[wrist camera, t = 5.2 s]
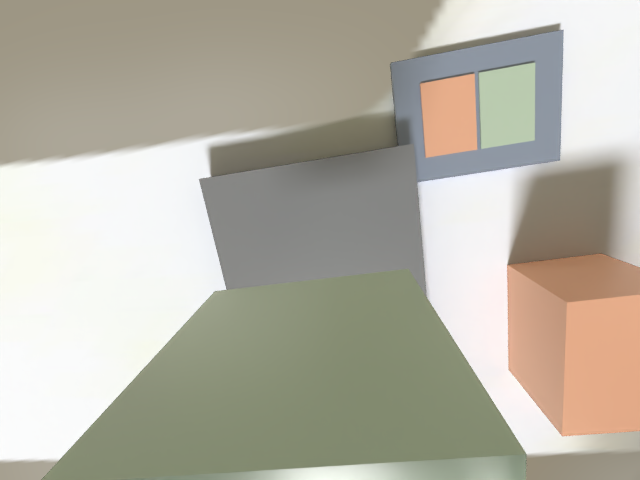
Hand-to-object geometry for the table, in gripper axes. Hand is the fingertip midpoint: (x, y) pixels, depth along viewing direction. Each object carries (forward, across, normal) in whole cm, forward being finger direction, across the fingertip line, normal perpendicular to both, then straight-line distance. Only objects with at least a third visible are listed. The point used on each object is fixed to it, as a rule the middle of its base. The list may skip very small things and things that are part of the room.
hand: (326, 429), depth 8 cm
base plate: (+11, 0, 0) cm, 11 cm away
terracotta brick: (+11, -12, +4) cm, 17 cm away
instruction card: (+11, -8, -8) cm, 16 cm away
